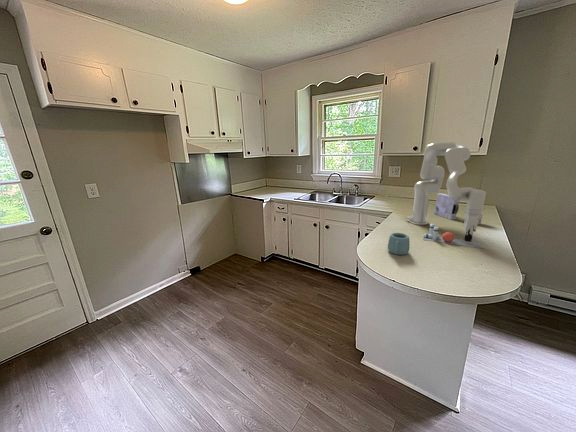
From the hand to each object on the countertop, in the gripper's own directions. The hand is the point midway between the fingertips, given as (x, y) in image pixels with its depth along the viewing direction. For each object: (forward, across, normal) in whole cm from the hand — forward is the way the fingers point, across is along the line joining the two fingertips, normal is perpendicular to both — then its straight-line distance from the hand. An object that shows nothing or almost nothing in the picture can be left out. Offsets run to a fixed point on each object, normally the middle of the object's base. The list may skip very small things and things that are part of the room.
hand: (467, 241), depth 143 cm
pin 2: (+2, +3, -17) cm, 17 cm away
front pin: (0, 0, -14) cm, 14 cm away
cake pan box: (+2, -58, -9) cm, 59 cm away
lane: (+2, 0, -8) cm, 8 cm away
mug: (+2, +33, -35) cm, 48 cm away
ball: (-2, +2, -10) cm, 11 cm away
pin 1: (+2, -2, -19) cm, 19 cm away
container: (+2, -47, +8) cm, 48 cm away
